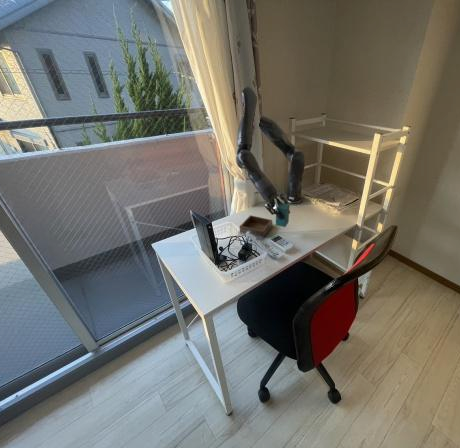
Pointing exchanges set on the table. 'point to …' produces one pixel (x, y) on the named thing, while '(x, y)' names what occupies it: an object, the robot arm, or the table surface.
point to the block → (285, 212)
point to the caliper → (255, 240)
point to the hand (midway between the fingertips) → (285, 216)
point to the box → (256, 226)
